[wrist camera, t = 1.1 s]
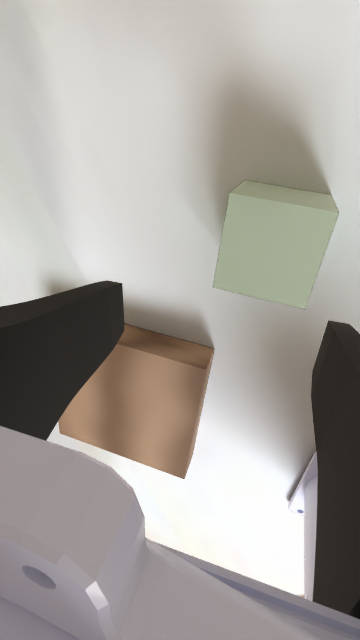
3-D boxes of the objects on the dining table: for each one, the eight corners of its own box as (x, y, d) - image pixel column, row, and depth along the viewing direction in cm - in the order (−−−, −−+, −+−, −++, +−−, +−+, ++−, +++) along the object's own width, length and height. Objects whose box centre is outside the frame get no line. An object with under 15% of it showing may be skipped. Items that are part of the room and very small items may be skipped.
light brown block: (214, 348, 24) (205, 369, 22) (192, 455, 30) (184, 479, 28) (67, 307, 26) (46, 323, 24) (75, 413, 32) (59, 433, 30)
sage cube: (331, 194, 17) (339, 212, 13) (304, 275, 19) (304, 309, 16) (244, 180, 18) (229, 192, 14) (229, 258, 20) (212, 287, 17)
